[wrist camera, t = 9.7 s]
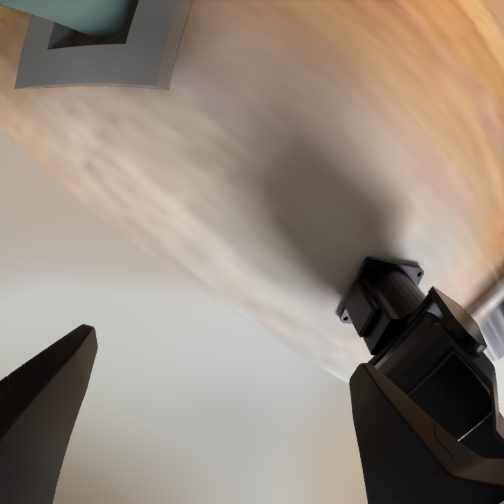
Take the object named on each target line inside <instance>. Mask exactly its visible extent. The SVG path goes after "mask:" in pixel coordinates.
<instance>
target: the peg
mask: <svg viewBox="0 0 504 504" xmlns="http://www.w3.org/2000/svg"><path fill="white" fill-rule="evenodd" d="M0 5H2V6H6V7H9V8H13V9H16V10H20V11H23V12H26V13H30V14H33V15H36V16H39V17H42V18H45V19H48V20H50V21H53V22H56V23H59V24H61V25H64V26H66V27H69V28H72V29H74V30H77V31H79V32H81V33H84V34H86V35H89V36H91V37H93V38H95V39H98V40H101V41H110V40H114V39H116V38H119V37H121V36H122V35H124V34H125V33H127V32H128V31H129V30H130V26H131V23H132V20H133V17H134V14H135V11H136V8H137V5H138V0H0Z"/></svg>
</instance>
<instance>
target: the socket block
mask: <svg viewBox="0 0 504 504" xmlns="http://www.w3.org/2000/svg"><path fill="white" fill-rule="evenodd" d="M192 1H193V0H139V2H138V5H137V8H136V11H135V14H134V17H133V20H132V23H131V26H130V30H129V33H128V37H127V40H126V44H105V45H88V46H76V47H71V45H72V41H73V37H74V34H75V30H74V29H72V28H69V27H66V26H64V25H61V24H59V23H56V22H53V21H50V20H48V19H45V18H42V17H39V16H36V15H33V17H32V20H31V23H30V26H29V29H28V33H27V36H26V40H25V43H24V47H23V51H22V55H21V60H20V64H19V69H18V74H17V79H16V85H15V89H16V88H49V87H67V86H120V87H139V88H153V89H164V90H168V89H169V84H170V80H171V76H172V71H173V67H174V63H175V59H176V55H177V52H178V48H179V44H180V40H181V37H182V33H183V30H184V26H185V23H186V20H187V17H188V13H189V10H190V7H191V4H192Z"/></svg>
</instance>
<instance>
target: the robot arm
mask: <svg viewBox="0 0 504 504" xmlns="http://www.w3.org/2000/svg"><path fill="white" fill-rule="evenodd" d="M369 262H371V264H370V265H368V264H369ZM418 272H419V273H418ZM423 274H424V271H423V270H422V269H421V268H420V267H416V266H412V265H407V264H403V263H398V262H393V261H389V260H384V259H379V258H374V257H367V258H366V259H365V260H364V262H363V264H362V267H361V269H360V271H359V274H358V276H357V278H356V280H355V281H354V283H353V285H352V287H351V290H350V292H349V294H348V296H347V299H346V301H345V303H344V307H343V309H342V312H341V314H340V316H339V318H340V320H341V322H342V323H350V324H353V325H354V327H355V329H356V331H357V333H358V335H359V337H363V339H364V341H365V343H366V345H367V347H368V349H369V351H370V353H371V355H375V356H374V357H373V358H372V359H371V360H370V361H369V362H368V363H361V364H359V366H358V367H357V369H356V370H355V372H354V373H353V375H352V376H351V378H350V382H349V385H350V393H351V403H352V413H353V421H354V426H355V431H356V436H357V441H358V446H359V452H360V458H361V463H362V469H363V475H364V481H365V487H366V493H367V499H368V504H504V418H503V416H502V415H501V413H500V412H499V407H498V392H497V382H496V373H495V367H494V365H493V364H492V363H491V361H490V360H489V359H488V358H487V356H486V355H485V354H484V353H483V351H484V350H485V349H486V347H487V345H486V342H485V340H484V338H483V335H482V333H481V331H480V329H479V326H478V324H477V323H476V321H475V320H474V319H473V318H472V317H471V316H470V315H469V314H468V313H467V312H466V311H465V310H464V309H463V308H462V307H461V306H460V305H459V304H458V303H456V302H455V301H453V300H452V299H451V298H449V297H448V296H446V295H445V294H444V293H442V292H441V291H439V290H438V289H436V288H435V287H433V286H432V288H431V289H430V290H429V292H428V293H429V294H428V295H427V296H425V295H424V293H423V292H422V291H421V290H420V289H419V287H418V284H419V282H420V280H421V278H422V276H423ZM346 316H347V317H346ZM344 317H346V318H344ZM97 348H98V345H97V338H96V332H95V328H94V327H92V326H89V325H85V324H82V325H80V326H79V327H77V328H76V329H74V330H73V331H71V332H70V333H68V334H67V335H66V336H64V337H62V338H61V339H59V340H58V341H56V342H55V343H54V344H52V345H51V346H49V347H48V348H46V349H45V350H43V351H42V352H40V353H39V354H38V355H36V356H35V357H33V358H32V359H30V360H29V361H27V362H26V363H25V364H23V365H22V366H20V367H19V368H17V369H16V370H15V371H13V372H12V373H10V374H9V375H8V376H6V377H5V378H3V379H2V380H1V381H0V504H52V503H53V499H54V495H55V489H56V486H57V481H58V478H59V474H60V470H61V467H62V463H63V459H64V456H65V453H66V449H67V446H68V443H69V440H70V436H71V433H72V430H73V427H74V424H75V421H76V418H77V415H78V413H79V409H80V407H81V404H82V401H83V399H84V396H85V393H86V390H87V387H88V383H89V379H90V375H91V371H92V367H93V364H94V360H95V356H96V353H97Z"/></svg>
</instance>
